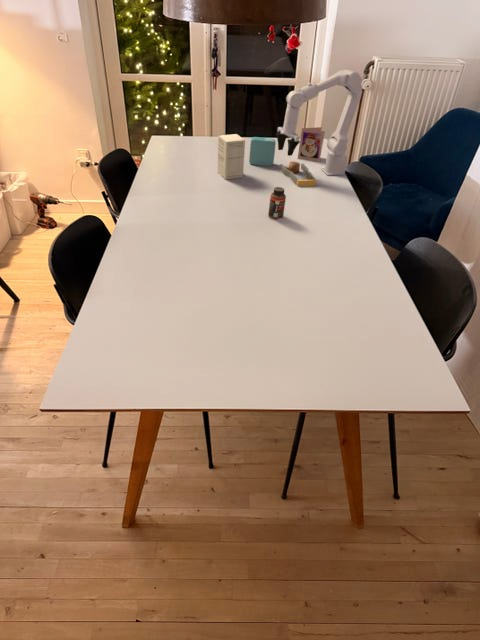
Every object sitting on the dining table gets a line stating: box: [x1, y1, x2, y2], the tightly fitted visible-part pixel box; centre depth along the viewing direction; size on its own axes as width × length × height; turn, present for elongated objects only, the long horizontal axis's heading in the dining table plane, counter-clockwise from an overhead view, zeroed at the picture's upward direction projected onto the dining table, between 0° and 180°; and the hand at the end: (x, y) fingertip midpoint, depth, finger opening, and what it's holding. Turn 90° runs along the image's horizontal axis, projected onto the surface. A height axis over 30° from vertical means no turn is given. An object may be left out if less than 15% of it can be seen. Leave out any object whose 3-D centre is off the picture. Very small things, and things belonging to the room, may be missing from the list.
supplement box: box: [217, 133, 246, 180], centre depth 197 cm, size 10×9×17 cm
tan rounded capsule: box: [287, 161, 301, 175], centre depth 210 cm, size 5×5×4 cm
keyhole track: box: [279, 163, 317, 187], centre depth 205 cm, size 21×12×2 cm, turn 15°
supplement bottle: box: [267, 186, 287, 220], centre depth 168 cm, size 6×6×11 cm
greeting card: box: [297, 126, 326, 163], centre depth 223 cm, size 11×7×15 cm, turn 77°
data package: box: [248, 136, 276, 167], centre depth 213 cm, size 12×4×12 cm, turn 87°
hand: (285, 152), depth 202 cm, fingers open, 7 cm apart
